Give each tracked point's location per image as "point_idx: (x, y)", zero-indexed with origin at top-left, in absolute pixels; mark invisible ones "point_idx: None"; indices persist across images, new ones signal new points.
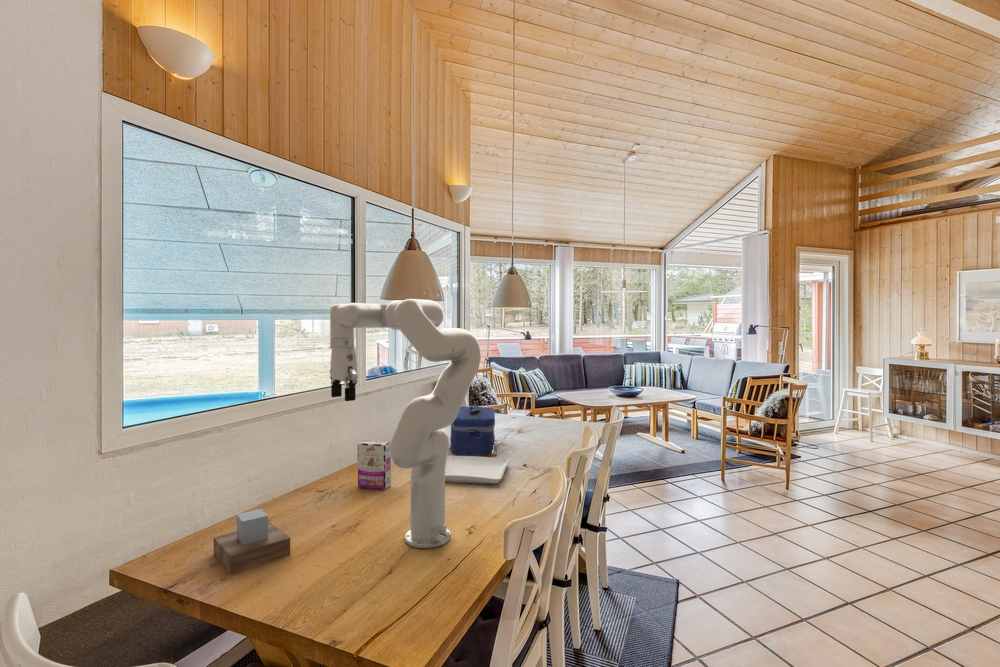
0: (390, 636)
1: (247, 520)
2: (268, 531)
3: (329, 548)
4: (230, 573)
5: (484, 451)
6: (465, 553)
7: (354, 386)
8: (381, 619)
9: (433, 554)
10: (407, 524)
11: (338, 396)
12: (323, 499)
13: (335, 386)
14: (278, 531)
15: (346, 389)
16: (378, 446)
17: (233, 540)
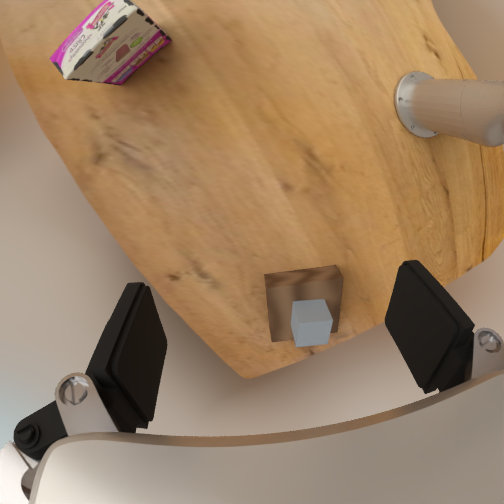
0: (489, 238)
1: (328, 339)
2: (301, 295)
3: (356, 221)
4: None
5: None
6: None
7: (490, 345)
8: (478, 235)
9: None
10: (365, 90)
11: (151, 304)
12: (145, 162)
13: (144, 397)
14: (311, 285)
15: (434, 376)
16: (122, 25)
17: None
